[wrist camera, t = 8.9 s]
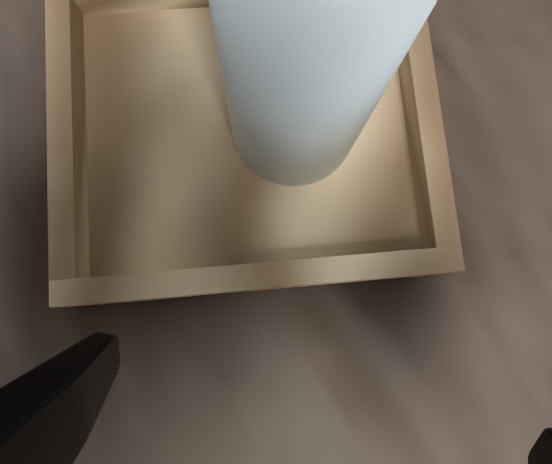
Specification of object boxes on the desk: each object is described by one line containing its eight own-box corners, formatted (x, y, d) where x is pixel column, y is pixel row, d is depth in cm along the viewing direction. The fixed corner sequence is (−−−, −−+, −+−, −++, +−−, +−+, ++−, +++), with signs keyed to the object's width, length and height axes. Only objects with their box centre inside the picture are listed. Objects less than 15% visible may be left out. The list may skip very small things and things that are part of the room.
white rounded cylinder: (272, 209, 19) (287, 62, 8) (209, 106, 20) (132, -179, 8) (377, 147, 20) (545, -78, 8) (312, 49, 21) (382, -295, 9)
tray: (74, 306, 19) (48, 307, 17) (67, 7, 21) (44, -28, 19) (442, 274, 20) (465, 270, 18) (401, -13, 22) (417, -49, 20)
